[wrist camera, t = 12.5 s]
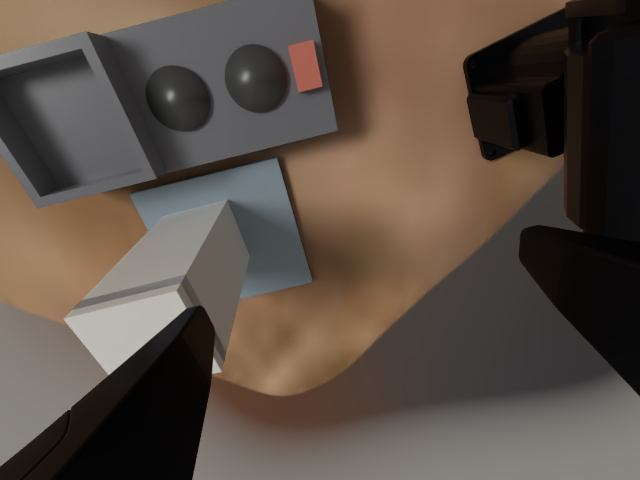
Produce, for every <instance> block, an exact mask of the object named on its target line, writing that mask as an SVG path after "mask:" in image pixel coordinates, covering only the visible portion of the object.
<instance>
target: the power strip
mask: <svg viewBox="0 0 640 480" xmlns="http://www.w3.org/2000/svg"><path fill="white" fill-rule="evenodd" d="M335 131H338V128H337V123H336V118H335V112H334V107H333V102H332V97H331V91H330V86H329V81H328V76H327V70H326V65H325V60H324V55H323V49H322V44H321V39H320V34H319V28H318V23H317V18H316V13H315V7H314V2H313V0H229V1H226V2H222V3H218V4H214V5H210V6H207V7H203V8H199V9H195V10H192V11H188V12H184V13H180V14H177V15H173V16H169V17H165V18H162V19H158V20H154V21H150V22H147V23H143V24H139V25H135V26H132V27H128V28H124V29H120V30H116V31H113V32H109V33H105V34H101V35H98V34H94V33H90V32H83V33H79V34H75V35H71V36H68V37H64V38H60V39H56V40H53V41H49V42H45V43H41V44H38V45H34V46H30V47H26V48H23V49H19V50H15V51H11V52H8V53H4V54H0V155H1V156H2V158H3V159H4V161H5V162H6V164H7V165H8V167H9V168H10V169H11V171H12V172H13V174H14V175H15V177H16V178H17V180H18V181H19V183H20V184H21V185H22V187H23V188H24V190H25V191H26V193H27V194H28V196H29V197H30V198H31V200H32V201H33V203H34V204H35V206H36V207H37V208H41V207H45V206H49V205H53V204H57V203H61V202H65V201H69V200H73V199H78V198H82V197H86V196H90V195H94V194H98V193H102V192H106V191H110V190H114V189H118V188H122V187H126V186H130V185H134V184H138V183H142V182H146V181H150V180H154V179H157V178H159V177H160V176H161V175H163V174H166V173H170V172H174V171H178V170H182V169H186V168H190V167H194V166H198V165H202V164H206V163H210V162H214V161H218V160H222V159H226V158H230V157H234V156H238V155H242V154H246V153H250V152H254V151H258V150H262V149H266V148H270V147H274V146H278V145H283V144H287V143H291V142H295V141H299V140H303V139H307V138H311V137H315V136H319V135H323V134H327V133H331V132H335Z"/></svg>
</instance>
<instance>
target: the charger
mask: <svg viewBox="0 0 640 480" xmlns="http://www.w3.org/2000/svg"><path fill="white" fill-rule="evenodd" d="M249 258H250V255H249V253H248V250H247V248H246V245H245V243H244V240H243V238H242V235H241V233H240V230H239V228H238V225H237V223H236V220H235V218H234V215H233V213H232V210H231V208H230V205H229V203H228V200H224V201H220V202H216V203H212V204H208V205H205V206H201V207H197V208H193V209H189V210H185V211H181V212H177V213H173V214H170V215H166V216H163V217H162V218H161V219H160V220H159V221H158V222H157V223H156V224H155V225H154V226H153V227H152V228H151V229H150V230H149V231H148V232H147V233H146V234H145V235H144V236H143V237H142V238H141V239H140V240H139V241H138V242H137V243H136V244H135V245H134V247H133V248H132V249H131V250H130V251H129V252H128V253H127V254H126V255H125V256H124V257H123V258H122V259H121V260H120V261H119V262H118V263H117V264H116V265H115V266H114V267H113V268H112V269H111V270H110V271H109V272H108V273H107V274H106V275H105V276H104V277H103V279H102V280H101V281H100V282H99V283H98V284H97V285H96V286H95V287H94V288H93V289H92V290H91V291H90V292H89V293H88V294H87V295H86V296H85V297H84V298H83V299H82V300H81V301H80V302H79V303H78V304H77V305H76V306H75V307H74V308H73V309H72V311H71V312H70V313H69V314H68V315H67V316H66V317H65V318H64V320H65V322H66V323H67V324H68V325H69V326H70V328H71V329H72V330H73V331H74V333H75V334H76V335H77V336H78V338H79V339H80V340H81V341H82V343H83V344H84V345H85V346H86V348H87V349H88V350H89V351H90V353H92V355H93V356H94V357H95V359H96V360H97V361H98V362H99V364H100V365H101V366H102V367H103V369H104V370H105V371H106V372H107V374H108V375H110V374H111V373H112V372H113V371H114V370H115V369H117V368H118V367H119V366H120V365H121V364H122V363H124V362H125V361H126V360H127V359H128V358H129V357H131V356H132V355H133V354H134V353H135V352H136V351H138V350H139V349H140V348H141V347H142V346H143V345H145V344H146V343H147V342H148V341H149V340H150V339H152V338H153V337H154V336H155V335H156V334H157V333H159V332H160V331H161V330H162V329H163V328H164V327H166V326H167V325H168V324H169V323H170V322H171V321H172V320H174V319H175V318H176V317H177V316H178V315H179V314H181V313H182V312H183V311H184V310H185V309H187V308H189V307H194V306H198V305H201V306H203V307H204V308H205V310H206V312H207V314H208V316H209V318H210V320H211V322H212V324H213V326H214V328H215V344H214V356H213V368H212V374H214V373H218V372H222V368H223V364H224V360H225V356H226V352H227V348H228V343H229V339H230V335H231V331H232V327H233V323H234V319H235V315H236V311H237V307H238V303H239V299H240V295H241V291H242V286H243V282H244V278H245V274H246V270H247V266H248V262H249Z"/></svg>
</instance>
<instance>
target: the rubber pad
mask: <svg viewBox="0 0 640 480" xmlns="http://www.w3.org/2000/svg"><path fill="white" fill-rule="evenodd" d="M129 196H130V197H131V199H132V201H133V203H134V205H135V207H136V209H137V211H138V212H139V214H140V216H141V218H142V220H143V222H144V224H145V226H146V227H147V229H148V231H149V230H150V229H151V228H152V227H153V226H154V225H155V224H156V223H157V222H158V221H159V220H160V219H161V218H162V217H163V216H166V215H170V214H173V213H177V212H181V211H185V210H189V209H193V208H197V207H201V206H205V205H208V204H212V203H216V202H220V201H224V200H228V203H229V205H230V208H231V210H232V213H233V215H234V218H235V220H236V223H237V225H238V228H239V230H240V233H241V235H242V238H243V240H244V243H245V245H246V248H247V250H248V253H249V255H250V258H249V262H248V266H247V270H246V274H245V278H244V282H243V286H242V291H241V295H240V299H244V298H248V297H252V296H257V295H261V294H265V293H270V292H274V291H278V290H282V289H287V288H291V287H295V286H299V285H304V284H308V283H312V282H313V281H312V276H311V273H310V269H309V266H308V262H307V259H306V255H305V252H304V249H303V245H302V242H301V238H300V235H299V231H298V228H297V224H296V221H295V217H294V214H293V210H292V207H291V203H290V200H289V196H288V193H287V189H286V186H285V182H284V179H283V175H282V172H281V168H280V165H279V161H278V158H277V157H273V158H269V159H265V160H261V161H257V162H253V163H249V164H245V165H241V166H237V167H233V168H229V169H225V170H221V171H217V172H213V173H209V174H205V175H201V176H197V177H193V178H189V179H185V180H181V181H177V182H173V183H169V184H165V185H161V186H156V187H152V188H148V189H144V190H140V191H136V192H132V193H131V194H129ZM240 299H239V300H240Z"/></svg>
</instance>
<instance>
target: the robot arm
mask: <svg viewBox="0 0 640 480" xmlns="http://www.w3.org/2000/svg"><path fill="white" fill-rule="evenodd" d="M473 59H475V61H476V65H475V67H474V68H472V67H471V62H472V60H473ZM463 69H464V74H465V79H466V83H467V88H468V93H469V95H468V97H467V105H468V109H469V114H470V119H471V123H472V128H473V132H474V137H475V138H477V139H478V140H479V145H480V150H481V154H482V157H483V158H484V159H486V160H490V161H492V160H495V159H497V158H499V157H501V156H504V155H506V154H508V153H510V152H513V151H515V150H516V151H518V150H520V149H524V150H527V151H531V152H534V153H538V154H541V155H545V156H548V157H551V158H553V157H556V156H559V155H561V154H563V153H564V207H565V211H566V215H567V217H568V218H569V219H570V220H571V221H573V222H574V223H575V224H576V225H577V226H578V227H579V228H581V229H583V232H577V231H571V230H565V229H560V228H553V227H548V226H542V225H536V226H532V227H528V228H524V229H523V230H522V231H521V234H520V246H519V259H520V261H521V263H522V265H523V266H524V267H525V268H526V270H527V271H528V272H529V273H530V275H531V276H532V278H533V279H534V280H535V281H536V283H537V284H538V285H539V287H540V288H541V289H542V291H543V292H544V293H545V294H546V296H547V297H548V298H549V300H550V301H551V302H552V303H553V305H554V306H555V307H556V308H557V309H558V310H559V311H560V312H561V314H562V315H563V316H564V317H565V318H566V319H567V320H568V321H569V322H570V323H571V324H572V325H573V326H574V327H575V328H576V329H577V330H578V331H579V333H580V334H581V335H582V336H583V337H584V338H585V339H586V340H587V341H588V342H589V343H590V344H591V345H592V346H593V347H594V348H595V349H596V351H597V352H598V353H599V354H600V355H601V356H602V357H603V358H604V359H605V360H606V361H607V362H608V363H609V364H610V365H611V366H612V367H613V368H614V370H615V371H617V373H618V374H619V375H620V376H621V377H622V378H623V379H624V380H625V381H626V382H627V383H628V384H629V385H630V386H631V387H632V388H633V390H634V391H635V392H636V393H637V394H638V395H639V396H640V0H571V1H568V2H566V3H565V8H563V9H561V10H559V11H557V12H555V13H553V14H551V15H549V16H547V17H545V18H543V19H541V20H539V21H537V22H535V23H532V24H530V25H528V26H526V27H524V28H522V29H520V30H518V31H516V32H514V33H512V34H510V35H508V36H506V37H504V38H502V39H500V40H498V41H496V42H494V43H492V44H490V45H488V46H486V47H484V48H482V49H480V50H478V51H476V52H474V53H472V54H470V55H469V56H467V57H466V59H465V60H464V63H463ZM491 149H493V152H492V154H491V155H489V151H490V150H491ZM214 344H215V328H214V326H213V324H212V322H211V320H210V318H209V316H208V314H207V312H206V310H205V308H204V307H203V306H201V305H198V306H194V307H189V308H187V309H185V310H184V311H183V312H182V313H181V314H179V315H178V316H177V317H176V318H175V319H174V320H172V321H171V322H170V323H169V324H168V325H167V326H166V327H164V328H163V329H162V330H161V331H160V332H159V333H157V334H156V335H155V336H154V337H153V338H152V339H150V340H149V341H148V342H147V343H146V344H145V345H143V346H142V347H141V348H140V349H139V350H138V351H136V352H135V353H134V354H133V355H132V356H131V357H129V358H128V359H127V360H126V361H125V362H124V363H122V364H121V365H120V366H119V367H118V368H117V369H115V370H114V371H113V372H112V373H111V374H110V375H108V377H106V378H105V379H104V380H103V381H102V382H100V383H99V384H98V385H97V386H96V387H95V388H93V389H92V390H91V391H90V392H89V393H88V394H87V395H85V396H84V397H83V398H82V399H81V400H80V401H78V402H77V403H76V404H75V405H74V406H72V408H71V410H68V411H67V412H65V413H64V414H63V415H62V416H61V417H60V418H58V419H57V420H56V421H55V422H54V423H53V424H51V425H50V426H49V427H48V428H47V429H45V430H44V431H43V432H42V433H41V434H39V435H38V436H37V437H36V438H35V439H34V440H32V441H31V442H30V443H29V444H28V445H26V446H25V447H24V448H23V449H21V450H20V451H19V452H18V453H17V454H15V455H14V456H13V457H12V458H10V459H9V460H8V461H7V462H5V463H4V464H3V465H2V466H0V480H192V478H193V473H194V468H195V463H196V458H197V453H198V448H199V443H200V438H201V433H202V427H203V423H204V418H205V412H206V408H207V402H208V397H209V392H210V386H211V378H212V368H213V356H214Z"/></svg>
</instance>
